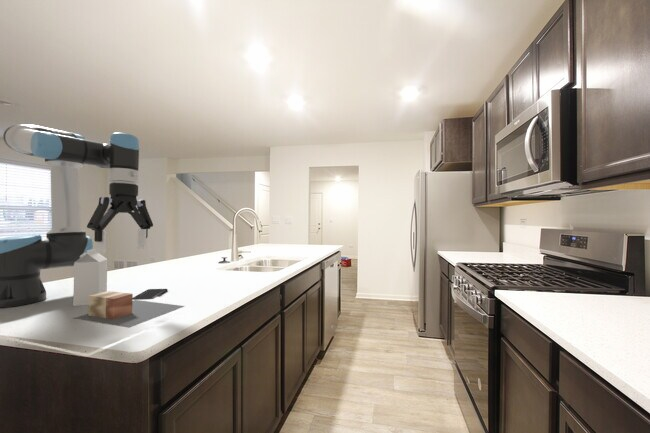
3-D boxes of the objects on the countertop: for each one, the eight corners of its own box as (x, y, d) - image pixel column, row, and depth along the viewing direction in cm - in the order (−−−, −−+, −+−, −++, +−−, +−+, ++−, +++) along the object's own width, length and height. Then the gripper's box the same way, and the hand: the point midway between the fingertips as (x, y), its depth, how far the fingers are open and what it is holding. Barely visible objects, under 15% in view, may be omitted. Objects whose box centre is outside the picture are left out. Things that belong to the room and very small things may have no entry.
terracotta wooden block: (88, 315, 87) (89, 295, 87) (108, 309, 93) (108, 290, 93) (113, 319, 84) (113, 298, 84) (132, 312, 90) (132, 293, 90)
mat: (72, 320, 85) (72, 318, 85) (135, 301, 104) (135, 299, 104) (129, 329, 78) (129, 327, 78) (184, 307, 98) (184, 306, 98)
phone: (168, 288, 120) (152, 298, 105) (168, 291, 120) (152, 301, 105) (147, 289, 119) (129, 299, 104) (147, 291, 119) (129, 302, 104)
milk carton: (106, 300, 105) (107, 248, 105) (98, 305, 99) (99, 250, 99) (83, 301, 103) (84, 248, 103) (72, 307, 96) (74, 250, 96)
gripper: (92, 177, 78) (90, 255, 78) (165, 187, 102) (164, 247, 102) (71, 178, 80) (70, 254, 80) (148, 187, 104) (147, 246, 104)
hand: (123, 250), depth 91 cm, fingers open, 13 cm apart
